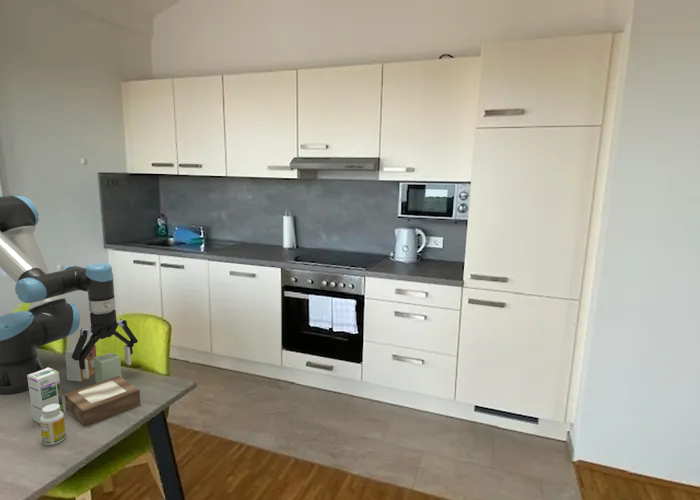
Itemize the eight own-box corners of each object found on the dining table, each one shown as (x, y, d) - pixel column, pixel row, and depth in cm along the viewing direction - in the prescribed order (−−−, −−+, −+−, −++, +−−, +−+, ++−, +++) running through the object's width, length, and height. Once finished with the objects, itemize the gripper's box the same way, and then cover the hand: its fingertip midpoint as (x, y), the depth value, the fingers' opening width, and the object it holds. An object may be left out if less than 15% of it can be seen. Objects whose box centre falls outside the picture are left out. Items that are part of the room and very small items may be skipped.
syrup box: (43, 426, 129) (38, 379, 127) (32, 420, 132) (26, 373, 129) (64, 417, 134) (59, 371, 132) (53, 411, 137) (47, 366, 134)
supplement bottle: (40, 447, 120) (36, 414, 118) (45, 436, 125) (41, 404, 123) (64, 443, 122) (60, 410, 120) (67, 432, 127) (64, 400, 125)
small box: (81, 382, 155) (78, 353, 153) (67, 380, 156) (64, 351, 154) (98, 372, 162) (96, 344, 160) (84, 370, 164) (82, 342, 162)
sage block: (95, 382, 155) (93, 357, 153) (114, 376, 160) (112, 352, 158) (103, 388, 151) (101, 363, 150) (122, 382, 156) (120, 357, 154)
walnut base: (65, 409, 138) (64, 393, 137) (119, 389, 150) (118, 375, 149) (84, 427, 130) (83, 410, 129) (140, 404, 142) (139, 389, 141)
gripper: (65, 323, 139) (71, 387, 143) (145, 304, 158) (149, 361, 162) (55, 317, 143) (62, 379, 147) (135, 299, 162) (139, 355, 166)
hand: (108, 370), depth 155 cm, fingers open, 13 cm apart
